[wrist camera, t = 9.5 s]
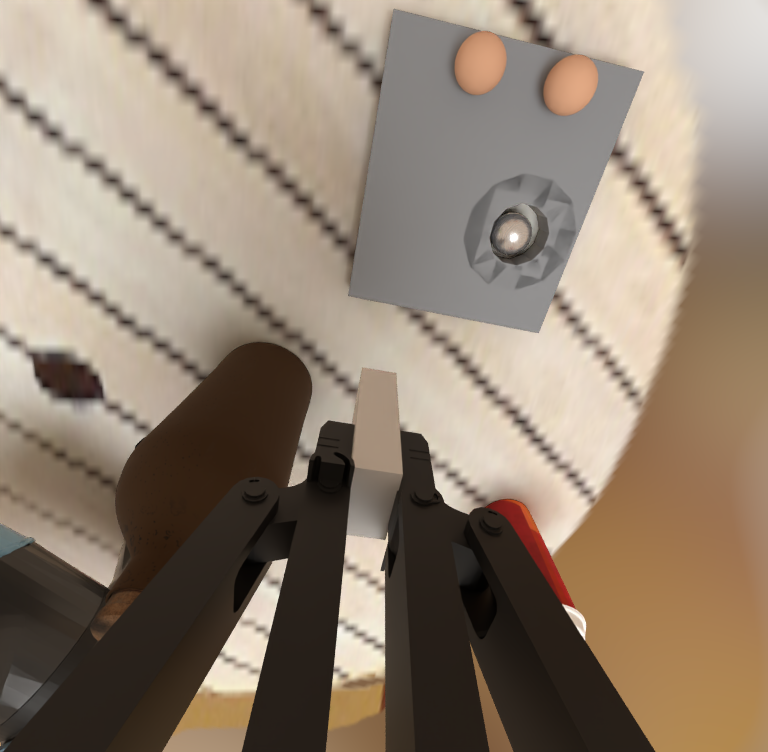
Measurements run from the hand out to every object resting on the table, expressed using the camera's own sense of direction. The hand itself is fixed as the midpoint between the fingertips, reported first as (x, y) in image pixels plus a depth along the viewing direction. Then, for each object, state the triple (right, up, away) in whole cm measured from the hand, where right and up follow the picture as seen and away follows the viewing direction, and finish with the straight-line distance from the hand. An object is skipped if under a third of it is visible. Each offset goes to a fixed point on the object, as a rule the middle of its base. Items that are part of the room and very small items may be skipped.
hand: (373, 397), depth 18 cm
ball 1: (+7, +21, +8) cm, 23 cm away
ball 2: (+11, +12, +15) cm, 22 cm away
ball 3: (+12, +20, +8) cm, 25 cm away
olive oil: (-12, 0, +24) cm, 26 cm away
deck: (+8, +16, +15) cm, 23 cm away
